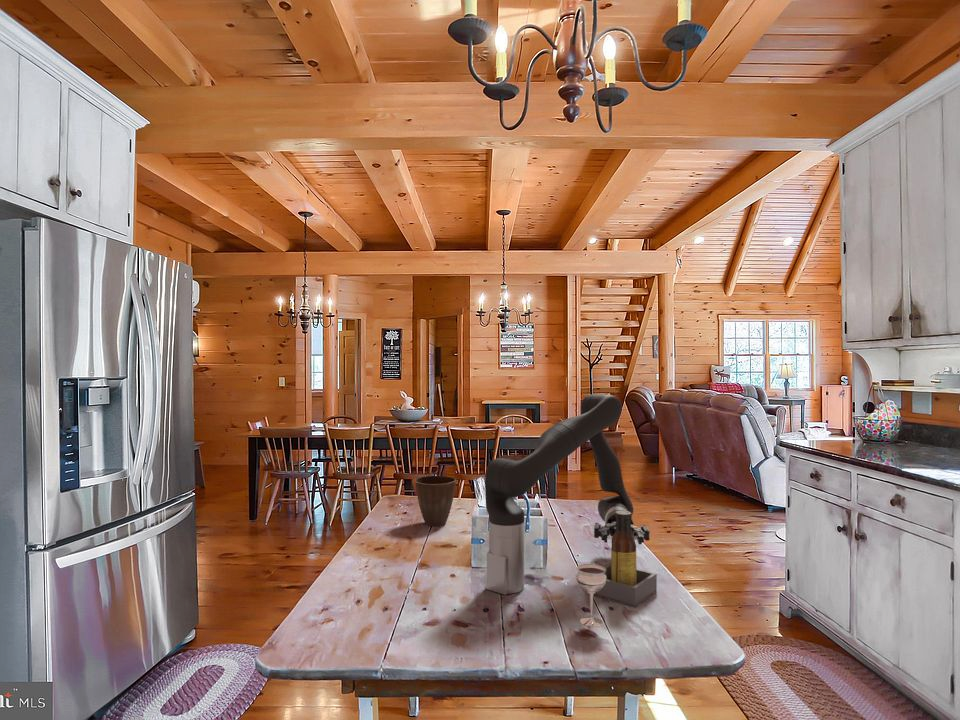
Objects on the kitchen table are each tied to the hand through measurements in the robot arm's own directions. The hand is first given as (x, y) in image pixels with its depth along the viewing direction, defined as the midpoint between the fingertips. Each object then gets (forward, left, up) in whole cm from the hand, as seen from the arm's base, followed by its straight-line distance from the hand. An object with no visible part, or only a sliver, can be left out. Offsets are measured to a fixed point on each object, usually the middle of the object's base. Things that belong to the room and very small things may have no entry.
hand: (623, 539), depth 151 cm
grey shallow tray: (0, 0, -13) cm, 14 cm away
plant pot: (+16, +81, -14) cm, 84 cm away
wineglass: (-20, -2, -14) cm, 25 cm away
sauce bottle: (0, 0, -13) cm, 13 cm away
